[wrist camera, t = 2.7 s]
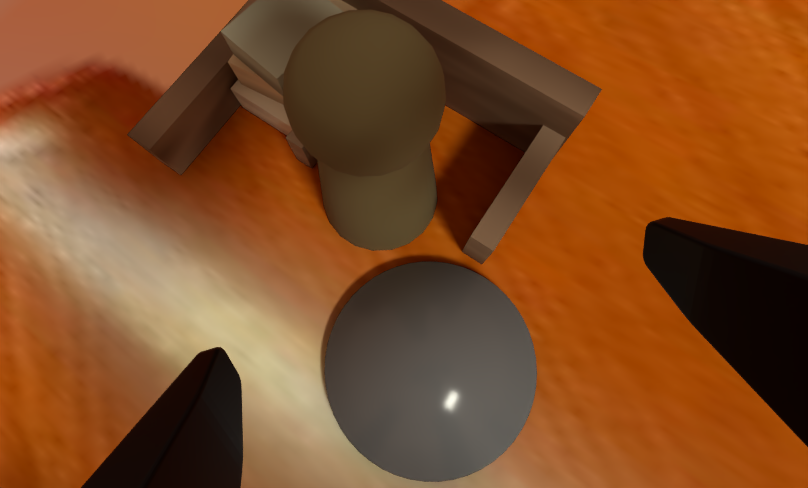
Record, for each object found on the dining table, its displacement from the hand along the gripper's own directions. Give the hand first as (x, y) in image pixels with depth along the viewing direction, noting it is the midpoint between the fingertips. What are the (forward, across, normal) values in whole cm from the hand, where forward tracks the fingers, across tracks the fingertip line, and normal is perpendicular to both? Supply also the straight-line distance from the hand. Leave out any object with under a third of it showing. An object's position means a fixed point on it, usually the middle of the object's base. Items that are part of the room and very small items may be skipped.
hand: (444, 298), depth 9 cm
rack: (+16, 0, +3) cm, 16 cm away
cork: (+14, 0, +4) cm, 15 cm away
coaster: (+8, 0, +10) cm, 13 cm away
